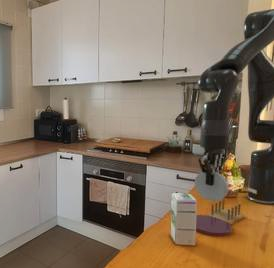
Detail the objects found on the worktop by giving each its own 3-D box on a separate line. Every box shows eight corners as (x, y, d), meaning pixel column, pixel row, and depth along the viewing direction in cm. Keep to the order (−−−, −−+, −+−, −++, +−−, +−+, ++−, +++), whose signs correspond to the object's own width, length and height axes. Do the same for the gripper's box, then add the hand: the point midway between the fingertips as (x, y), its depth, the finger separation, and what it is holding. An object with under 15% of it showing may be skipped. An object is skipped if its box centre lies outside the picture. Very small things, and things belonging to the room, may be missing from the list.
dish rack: (220, 210, 105) (221, 197, 104) (243, 217, 98) (245, 204, 98) (206, 217, 99) (207, 204, 99) (230, 225, 93) (231, 211, 92)
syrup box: (196, 246, 81) (198, 200, 79) (174, 244, 83) (176, 199, 80) (189, 236, 87) (191, 193, 85) (169, 235, 88) (171, 192, 86)
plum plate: (198, 214, 102) (198, 211, 101) (238, 228, 91) (239, 225, 90) (178, 224, 95) (178, 221, 95) (219, 240, 84) (219, 237, 84)
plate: (195, 195, 96) (197, 167, 94) (227, 204, 87) (229, 174, 86) (193, 195, 95) (195, 168, 94) (225, 205, 87) (227, 175, 85)
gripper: (216, 136, 81) (212, 192, 84) (237, 132, 88) (233, 183, 91) (190, 133, 88) (188, 185, 90) (212, 129, 95) (209, 177, 97)
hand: (210, 184), depth 90 cm, fingers closed on plate, 1 cm apart
